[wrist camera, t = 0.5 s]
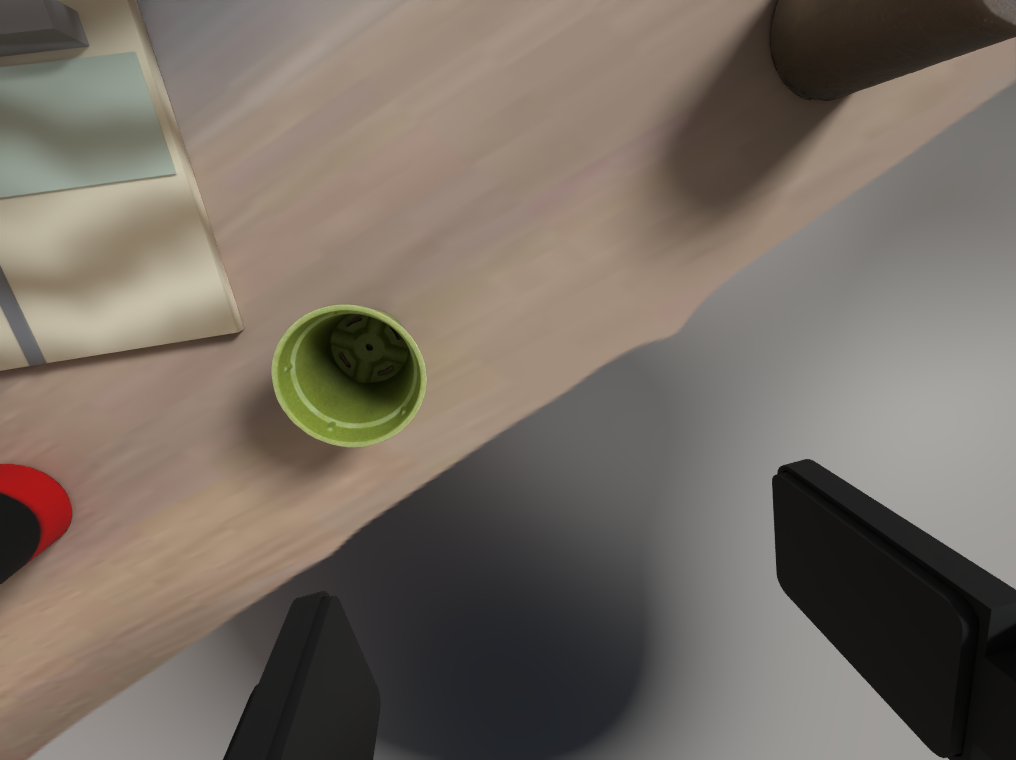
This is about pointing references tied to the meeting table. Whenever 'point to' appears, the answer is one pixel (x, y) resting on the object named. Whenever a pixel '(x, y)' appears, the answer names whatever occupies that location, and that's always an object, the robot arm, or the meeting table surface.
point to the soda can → (29, 515)
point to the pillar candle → (877, 39)
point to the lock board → (96, 192)
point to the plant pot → (348, 376)
